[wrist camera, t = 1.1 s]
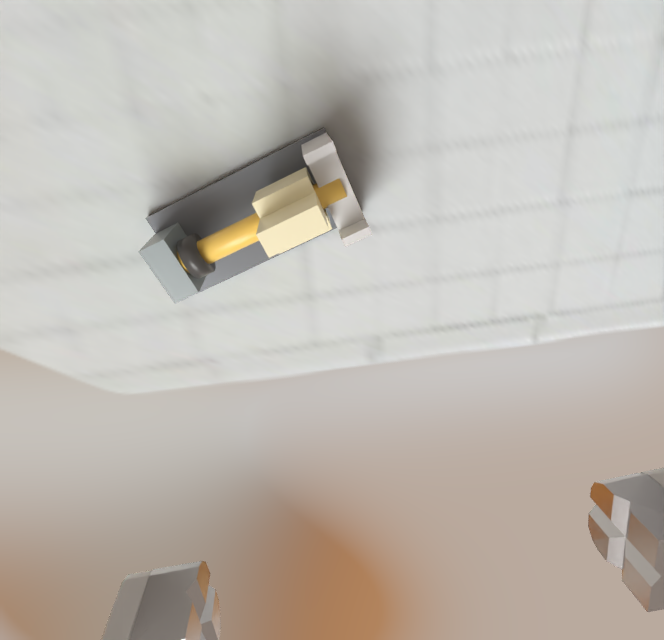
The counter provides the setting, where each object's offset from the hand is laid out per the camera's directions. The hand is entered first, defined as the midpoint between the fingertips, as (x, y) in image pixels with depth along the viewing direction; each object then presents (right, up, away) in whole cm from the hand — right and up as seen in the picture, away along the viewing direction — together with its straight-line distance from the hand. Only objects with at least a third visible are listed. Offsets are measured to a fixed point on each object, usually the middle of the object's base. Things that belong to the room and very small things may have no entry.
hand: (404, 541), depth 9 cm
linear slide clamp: (-8, +13, +26) cm, 30 cm away
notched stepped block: (-4, +13, +24) cm, 28 cm away
